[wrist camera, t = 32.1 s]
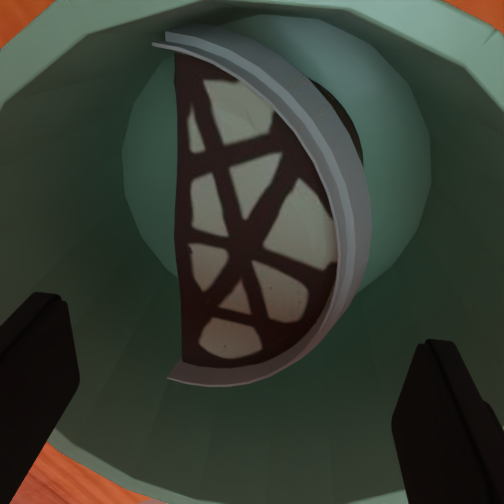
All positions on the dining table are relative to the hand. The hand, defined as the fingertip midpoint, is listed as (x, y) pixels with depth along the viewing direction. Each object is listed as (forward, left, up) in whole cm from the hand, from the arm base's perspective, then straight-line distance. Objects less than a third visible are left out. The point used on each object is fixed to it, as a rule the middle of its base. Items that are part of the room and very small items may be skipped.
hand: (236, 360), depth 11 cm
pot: (0, 0, -13) cm, 13 cm away
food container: (+3, +1, -12) cm, 13 cm away
